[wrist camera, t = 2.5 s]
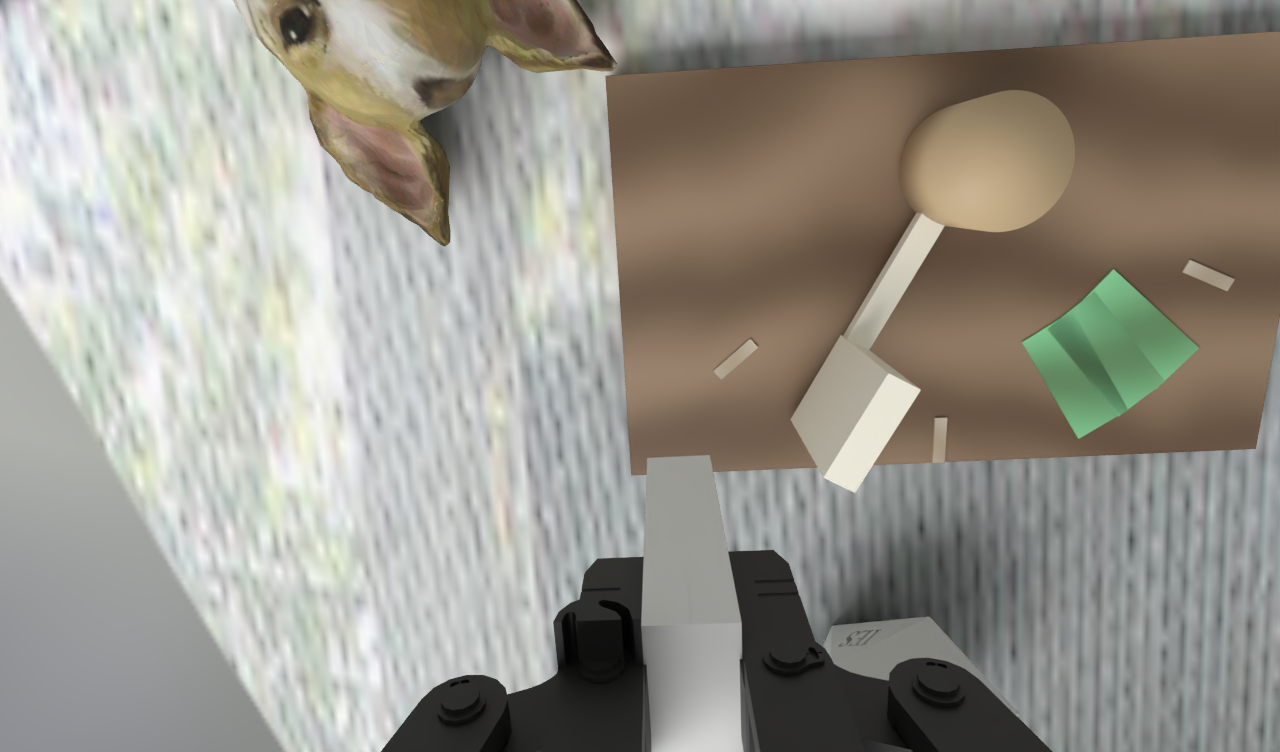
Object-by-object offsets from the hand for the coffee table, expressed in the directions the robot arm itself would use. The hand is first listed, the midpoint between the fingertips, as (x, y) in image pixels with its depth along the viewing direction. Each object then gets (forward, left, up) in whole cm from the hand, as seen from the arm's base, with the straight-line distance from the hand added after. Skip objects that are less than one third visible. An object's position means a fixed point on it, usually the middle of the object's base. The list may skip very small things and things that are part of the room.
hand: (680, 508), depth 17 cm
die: (-15, -9, -14) cm, 23 cm away
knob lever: (+4, -9, -12) cm, 15 cm away
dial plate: (+4, -11, -14) cm, 18 cm away
